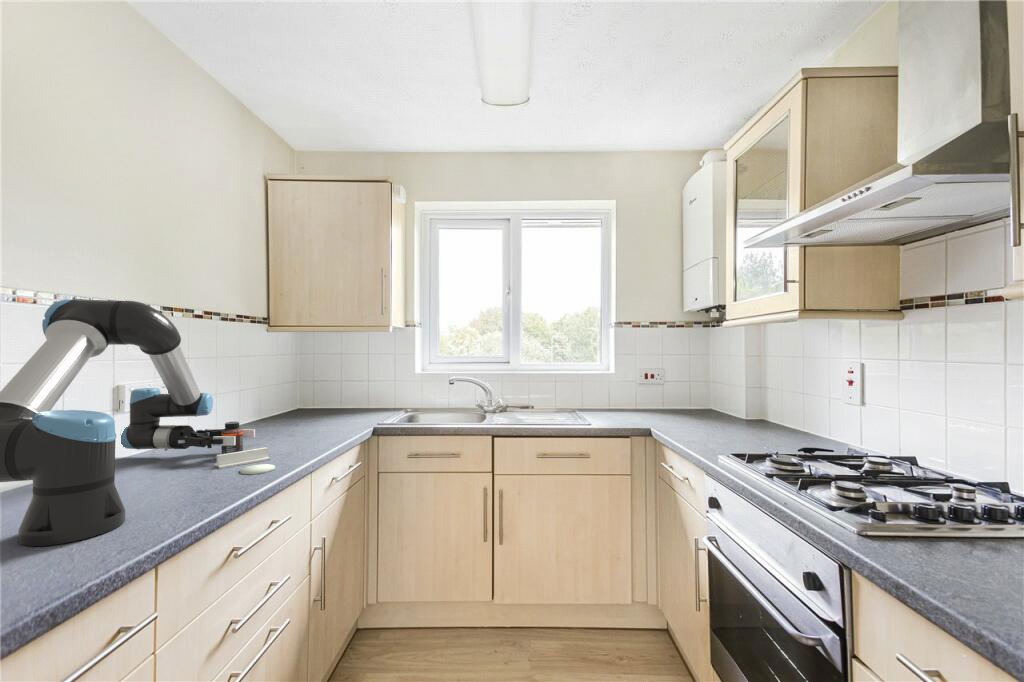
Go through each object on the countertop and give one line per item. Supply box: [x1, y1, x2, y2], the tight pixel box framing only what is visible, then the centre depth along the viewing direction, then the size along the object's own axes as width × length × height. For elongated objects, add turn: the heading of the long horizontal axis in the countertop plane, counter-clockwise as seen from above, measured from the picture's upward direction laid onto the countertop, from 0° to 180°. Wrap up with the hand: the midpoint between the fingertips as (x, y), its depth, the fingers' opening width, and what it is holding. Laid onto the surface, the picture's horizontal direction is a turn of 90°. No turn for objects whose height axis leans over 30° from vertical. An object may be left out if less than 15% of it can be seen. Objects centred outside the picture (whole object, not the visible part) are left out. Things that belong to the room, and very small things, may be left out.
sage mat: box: [239, 463, 276, 476], centre depth 132 cm, size 9×9×1 cm
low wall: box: [214, 447, 271, 470], centre depth 140 cm, size 5×14×4 cm, turn 139°
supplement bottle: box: [220, 421, 244, 455], centre depth 146 cm, size 6×6×11 cm
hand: (245, 437), depth 146 cm, fingers open, 11 cm apart
